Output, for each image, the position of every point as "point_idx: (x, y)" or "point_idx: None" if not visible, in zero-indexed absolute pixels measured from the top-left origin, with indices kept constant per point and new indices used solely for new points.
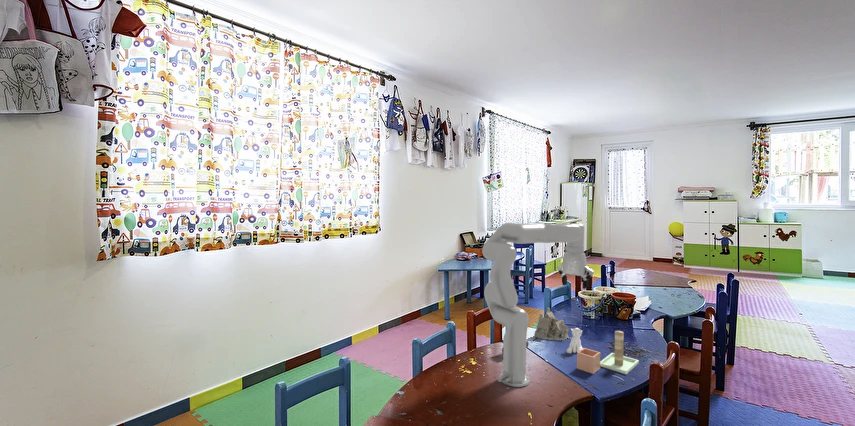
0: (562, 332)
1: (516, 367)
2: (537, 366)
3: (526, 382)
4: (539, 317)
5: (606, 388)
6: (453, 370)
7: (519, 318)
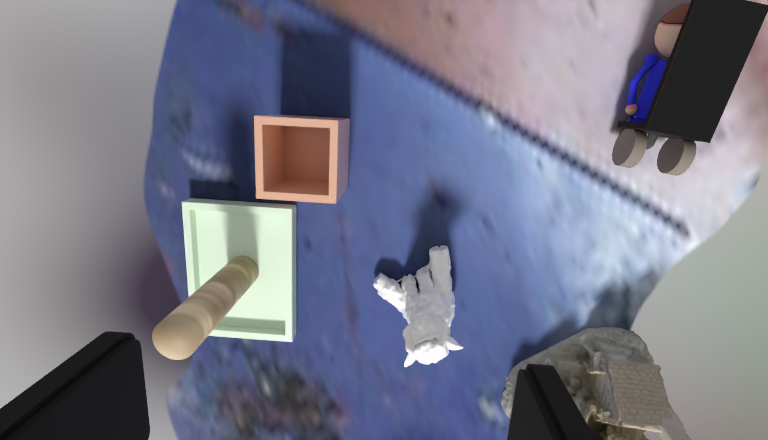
0: None
1: None
2: (497, 25)
3: None
4: (679, 423)
5: (198, 35)
6: None
7: None
